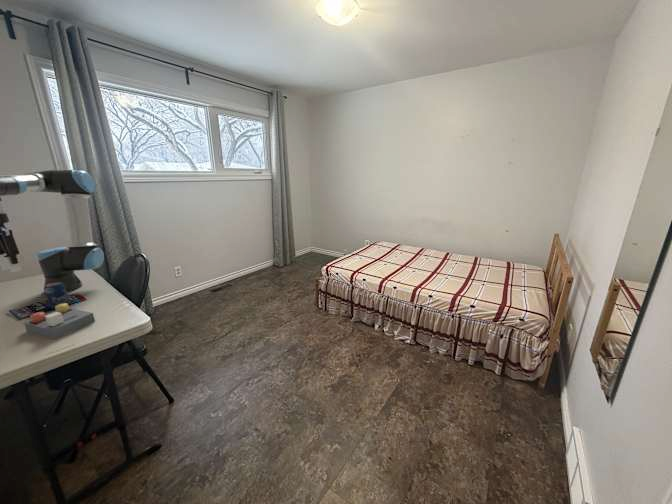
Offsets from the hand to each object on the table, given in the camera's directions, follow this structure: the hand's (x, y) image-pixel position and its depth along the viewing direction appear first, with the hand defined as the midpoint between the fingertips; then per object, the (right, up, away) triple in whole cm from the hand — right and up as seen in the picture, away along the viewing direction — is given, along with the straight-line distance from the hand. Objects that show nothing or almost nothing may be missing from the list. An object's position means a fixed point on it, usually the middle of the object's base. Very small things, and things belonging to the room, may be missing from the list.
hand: (12, 270), depth 108 cm
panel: (+14, -24, +6) cm, 29 cm away
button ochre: (+11, -19, +10) cm, 24 cm away
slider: (+18, -22, 0) cm, 28 cm away
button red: (+8, -21, +2) cm, 23 cm away
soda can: (-3, -19, +22) cm, 30 cm away
